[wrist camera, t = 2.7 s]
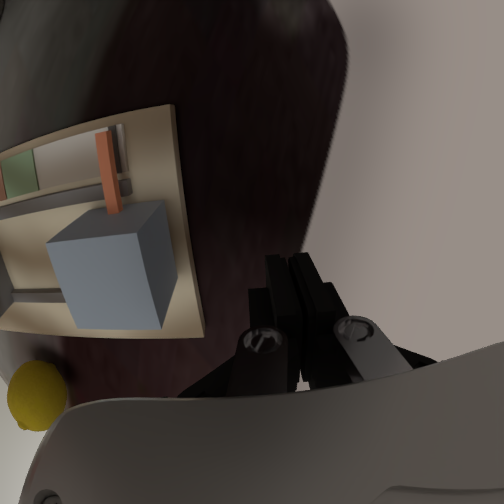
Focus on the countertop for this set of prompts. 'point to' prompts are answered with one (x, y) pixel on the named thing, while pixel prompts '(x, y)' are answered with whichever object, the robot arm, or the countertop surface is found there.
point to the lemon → (36, 395)
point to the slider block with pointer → (116, 258)
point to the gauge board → (80, 201)
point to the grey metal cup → (1, 6)
